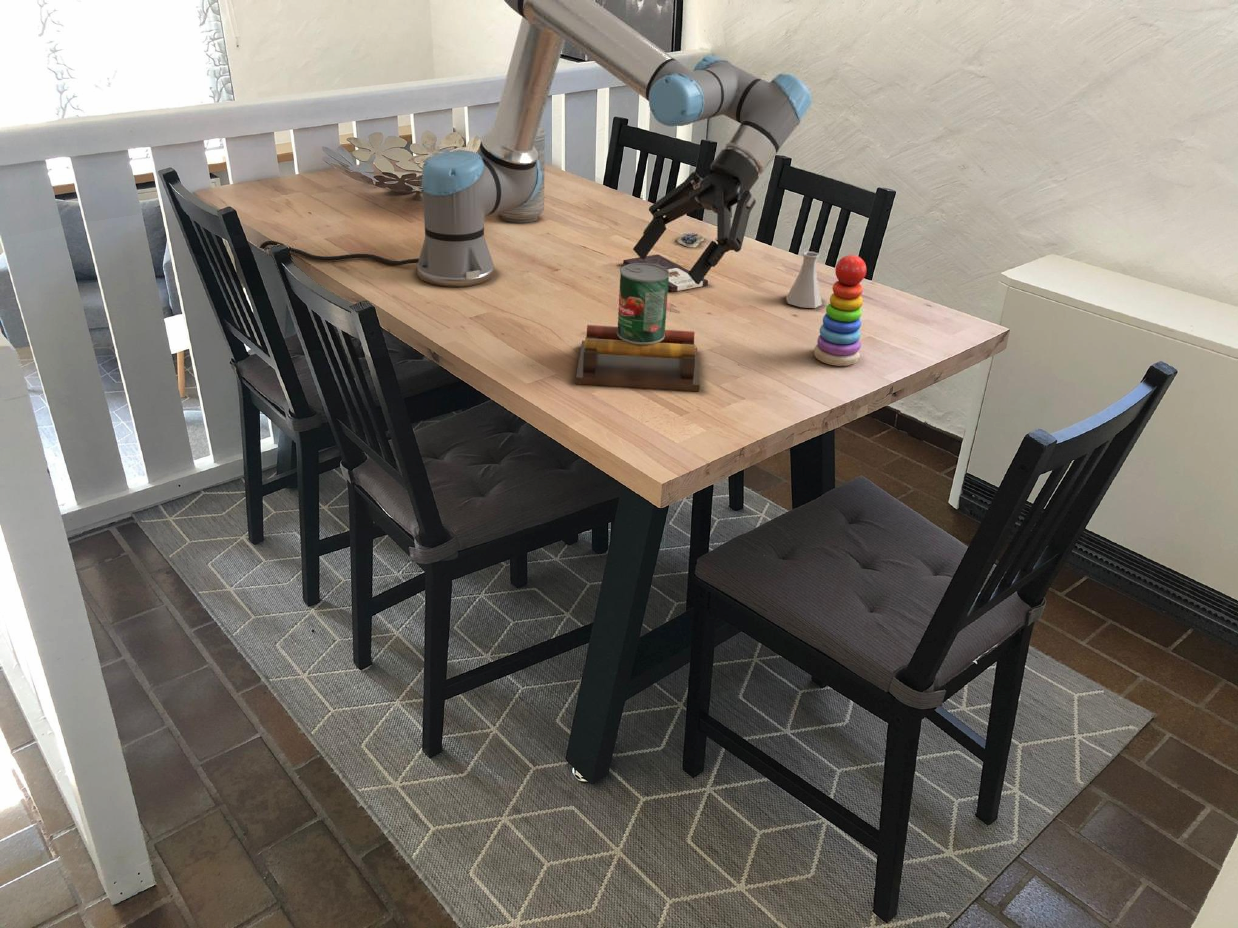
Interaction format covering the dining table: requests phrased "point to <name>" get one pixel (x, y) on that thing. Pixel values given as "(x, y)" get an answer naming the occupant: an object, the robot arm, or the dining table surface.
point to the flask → (806, 284)
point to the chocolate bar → (670, 272)
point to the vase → (536, 205)
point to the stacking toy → (843, 315)
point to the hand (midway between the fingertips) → (664, 266)
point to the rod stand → (638, 361)
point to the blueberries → (690, 239)
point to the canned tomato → (642, 303)
